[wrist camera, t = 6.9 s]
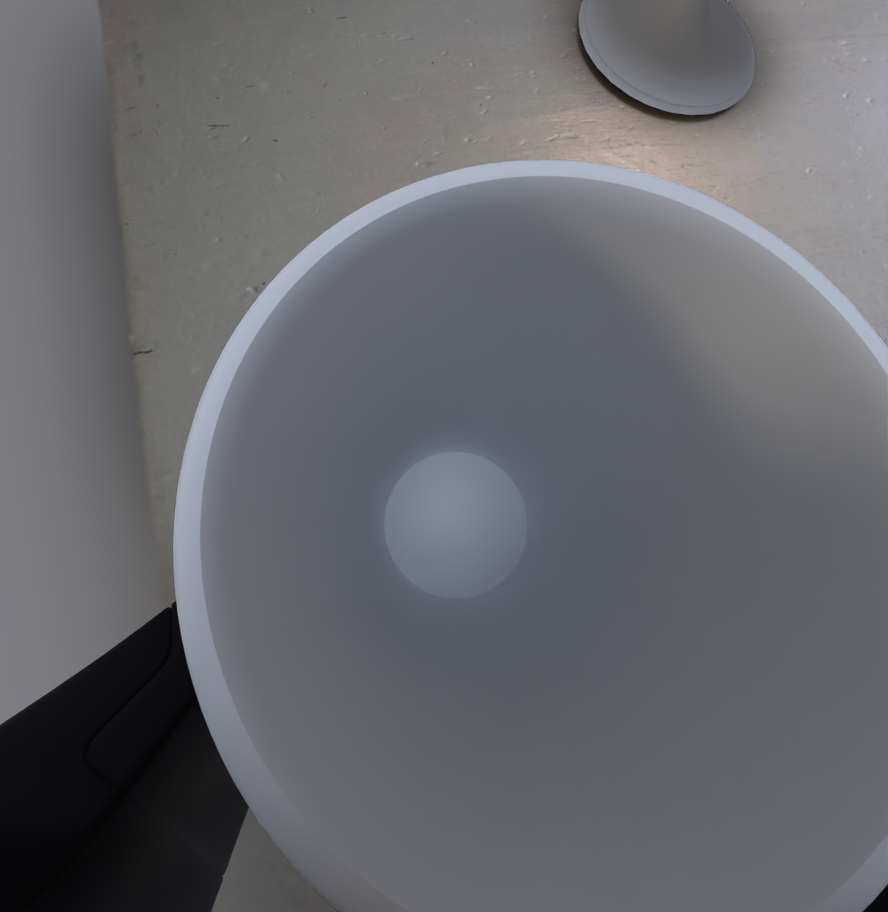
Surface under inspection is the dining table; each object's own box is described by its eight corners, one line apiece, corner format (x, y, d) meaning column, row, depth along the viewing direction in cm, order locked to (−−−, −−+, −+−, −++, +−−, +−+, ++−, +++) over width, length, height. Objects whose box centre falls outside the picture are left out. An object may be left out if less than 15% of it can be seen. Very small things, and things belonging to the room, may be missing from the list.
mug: (409, 421, 15) (384, 69, 4) (551, 476, 15) (982, 295, 4) (308, 659, 13) (-590, 1707, 1) (476, 725, 13) (983, 2372, 1)
